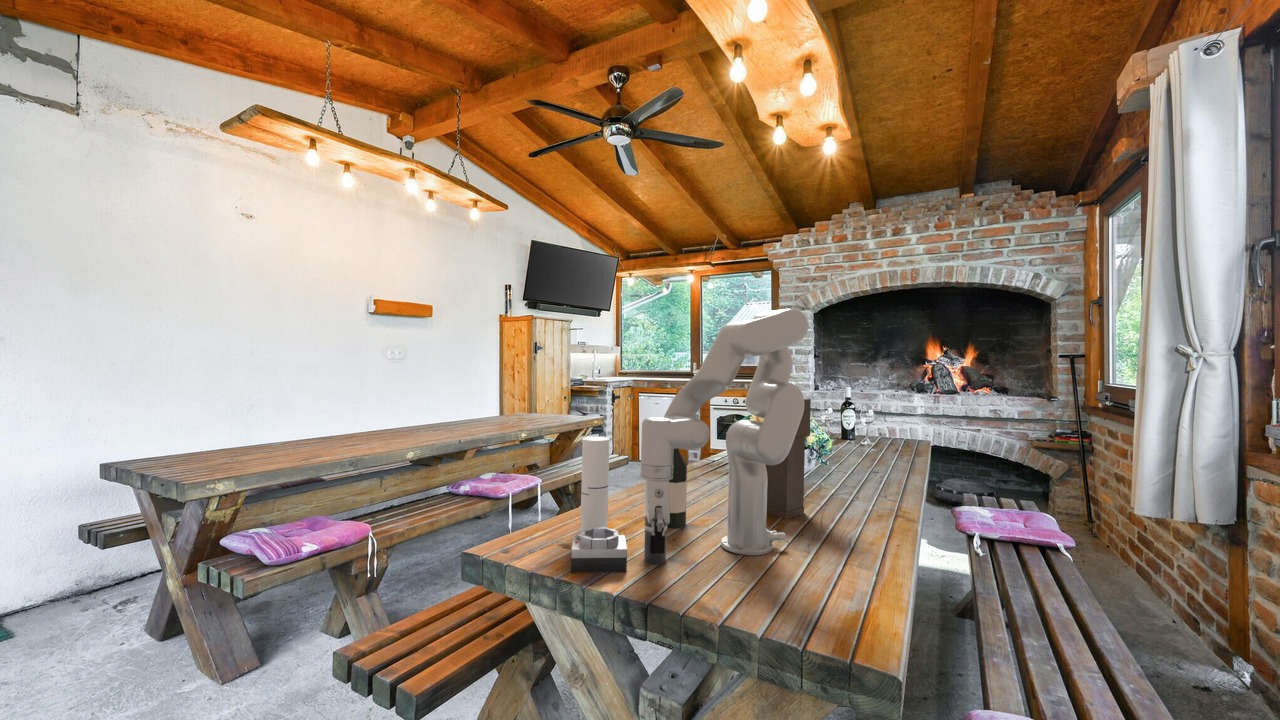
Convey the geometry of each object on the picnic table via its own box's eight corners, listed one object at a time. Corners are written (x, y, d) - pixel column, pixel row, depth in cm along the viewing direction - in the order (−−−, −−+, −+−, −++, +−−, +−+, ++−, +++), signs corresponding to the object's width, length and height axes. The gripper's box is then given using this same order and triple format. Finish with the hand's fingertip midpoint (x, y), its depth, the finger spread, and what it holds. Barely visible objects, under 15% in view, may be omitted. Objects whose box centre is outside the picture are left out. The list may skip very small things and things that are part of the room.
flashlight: (664, 556, 125) (665, 513, 125) (667, 564, 120) (668, 519, 120) (642, 556, 124) (643, 513, 124) (644, 564, 119) (645, 520, 119)
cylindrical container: (603, 538, 136) (605, 441, 136) (576, 535, 138) (578, 439, 138) (610, 529, 143) (612, 437, 143) (585, 527, 145) (587, 436, 145)
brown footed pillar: (810, 510, 166) (812, 399, 166) (786, 519, 156) (789, 401, 156) (758, 498, 180) (760, 395, 180) (733, 505, 170) (735, 396, 170)
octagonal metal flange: (624, 556, 124) (624, 526, 124) (626, 572, 115) (627, 540, 115) (572, 557, 123) (573, 527, 123) (571, 572, 114) (571, 540, 114)
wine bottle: (691, 522, 151) (693, 417, 151) (677, 530, 144) (680, 420, 144) (666, 517, 155) (668, 415, 155) (651, 524, 148) (653, 417, 148)
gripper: (678, 479, 114) (676, 559, 114) (667, 463, 131) (665, 533, 131) (644, 479, 113) (641, 560, 113) (637, 463, 130) (635, 533, 130)
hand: (654, 545), depth 122 cm, fingers open, 9 cm apart
